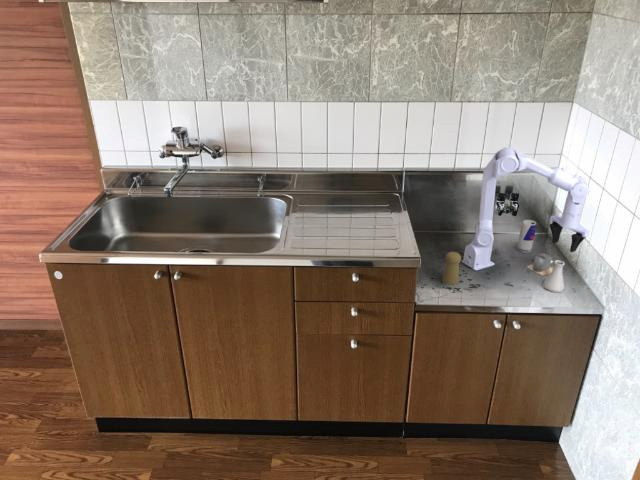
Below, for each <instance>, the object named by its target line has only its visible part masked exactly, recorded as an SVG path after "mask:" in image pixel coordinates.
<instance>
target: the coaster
mask: <svg viewBox="0 0 640 480" xmlns="http://www.w3.org/2000/svg"><path fill="white" fill-rule="evenodd" d="M533 264H534V263H533ZM533 264H532V263H531V264H530V265H527V266H526V268H527V269H529V270H531V271H532V272H535V274H538V275H540V276H541V277H543V276H546V275H550V273H551V272H552V270H553V268H554V267H551V266H550V268H549V269H548V270H545V271H541V272H537V271H534V270H533Z"/></svg>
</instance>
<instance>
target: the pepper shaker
mask: <svg viewBox="0 0 640 480" xmlns="http://www.w3.org/2000/svg"><path fill="white" fill-rule="evenodd" d="M445 261H446V263H445V267H444V270H443V273H442V277H441V282H442V283H443V282H444V283H443V284H445V285H447V286H456V284H457V285H458V284H459V283H460V263H461V262H462V256H461V254H460V253H459V252H456V251H450V252H448V253H446V254H445Z"/></svg>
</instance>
